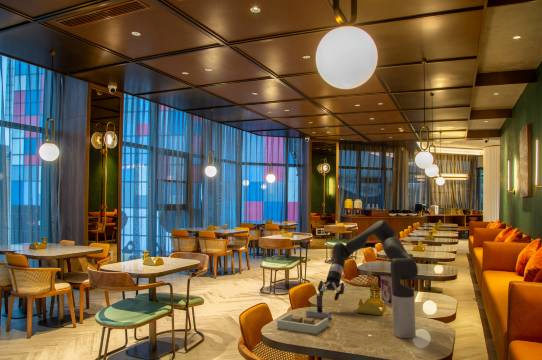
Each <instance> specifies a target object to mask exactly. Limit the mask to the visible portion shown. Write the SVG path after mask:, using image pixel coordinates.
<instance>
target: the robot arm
mask: <svg viewBox="0 0 542 360" xmlns="http://www.w3.org/2000/svg"><path fill="white" fill-rule="evenodd" d="M372 235H374V236H375V237H376V238H377V239H378V240H379V241H380V242H382V249H383V251H384V254H385V255H386V257H387V259H389V260H390V275H391V276H390V277H391V279H392V298H393V307H392V325H393V326H392V327H393V331H392V332H393V333H392V334H393V336H395V337H397V338H398V339H399V338H401V339H414V338H415V337H416V310H415V309H416V308H415V304H416V303H415V290H414V288H412V287H410V286H407V285H404V284H403V283H401V281H403V280H405V281H406V280H409V281H410V280H414V279H416V278H417V277H418V272H419V268H418V265H417V263H416V261H415V258H413V256H411V255H410V254H409V253H408V252H407V250H406V248H405V247H404V245H403V243H402V241H400V239H399V238H398V237H397V233H396V231H395V230H394V227H392V226H391V225H390V224H389V223H388V222H387V221H385V220H383V219H380V220H378V221H376V222H375V223H374V224H372V225H371V226H368V228H367V229H365V230H364V231H363V232H361V233H359V235H357V236H355V237H353V238H351V239H349V240H348V241H346V243H345V244H344V243H343V242H339V241H338V242H336V243H335V244H334V246H333V248H332V262H331V264H330V267H329V269H328V273H327V277H326V280H325V281H323V280H320V281H319V283H318V285H317V291H318V293H319V294H321V295H322V298H323V297H324V294H325V292H328V291H335V294H334V301H335V302H337V301H338V300H339V297H340V295H344V292H345V287H346V286H345V283H344V281H343V282H341V279H342V276H343V273H344V268H345V264H346V259H347V260H348V259H349V258H350V256H352V255H353V254H354V253H355V252H357V251H359V250H361V249H363V248H364V247H365V246H366V244H367V242H368V239H369V238H370V236H372ZM339 287H340V288H339ZM338 288H339V290H338Z"/></svg>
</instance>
